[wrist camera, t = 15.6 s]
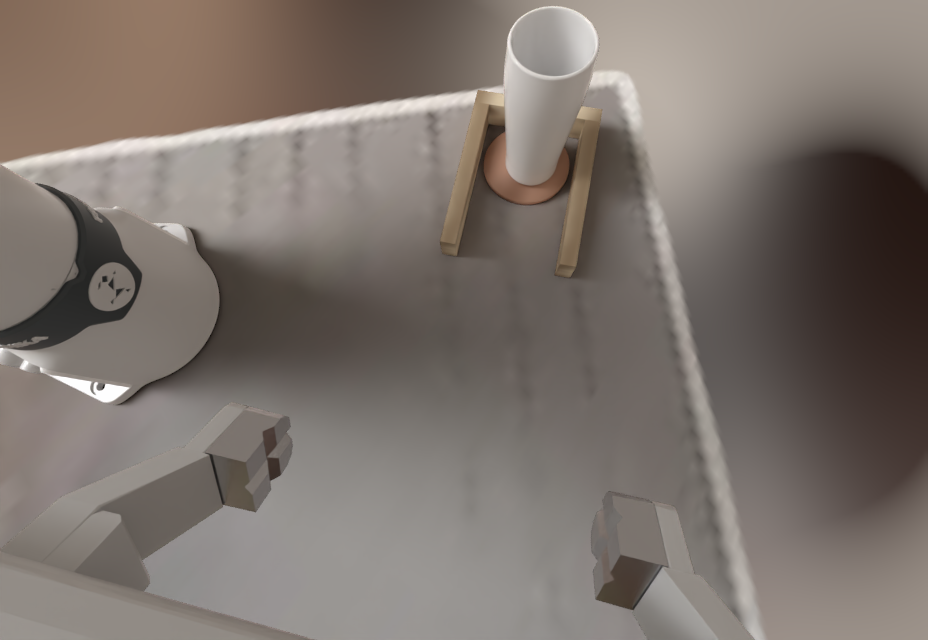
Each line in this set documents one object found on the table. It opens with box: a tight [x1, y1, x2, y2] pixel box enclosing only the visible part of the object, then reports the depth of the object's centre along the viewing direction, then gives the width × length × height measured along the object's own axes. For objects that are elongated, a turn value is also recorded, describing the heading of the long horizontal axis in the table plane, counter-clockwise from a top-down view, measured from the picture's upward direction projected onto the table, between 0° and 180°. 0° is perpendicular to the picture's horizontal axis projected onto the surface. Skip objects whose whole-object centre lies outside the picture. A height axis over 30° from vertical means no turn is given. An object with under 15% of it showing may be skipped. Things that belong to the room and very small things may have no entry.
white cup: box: [504, 6, 600, 186], centre depth 38 cm, size 7×7×15 cm
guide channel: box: [440, 90, 602, 278], centre depth 44 cm, size 13×18×3 cm
